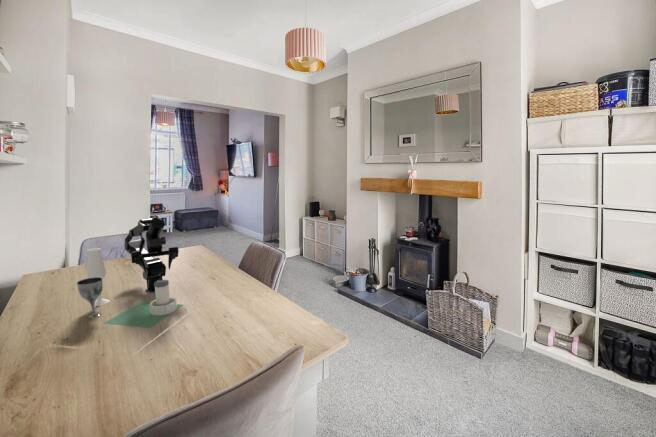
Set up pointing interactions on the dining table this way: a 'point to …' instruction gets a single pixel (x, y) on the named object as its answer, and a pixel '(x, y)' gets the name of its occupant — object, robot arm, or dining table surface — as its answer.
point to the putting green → (145, 314)
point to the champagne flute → (96, 269)
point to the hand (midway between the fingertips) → (157, 270)
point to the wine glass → (90, 291)
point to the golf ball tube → (162, 292)
